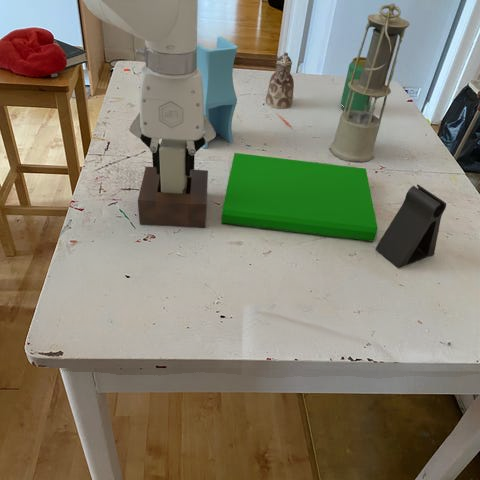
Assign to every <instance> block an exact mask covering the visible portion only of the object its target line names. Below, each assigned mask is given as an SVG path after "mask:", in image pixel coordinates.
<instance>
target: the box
mask: <svg viewBox="0 0 480 480" xmlns="http://www.w3.org/2000/svg"><path fill="white" fill-rule="evenodd" d="M159 144H160V148H159V156H160V178H161V192H163V193H179V194H187V175H186V150H187V143H186V140H172V139H161V142H160V143H159Z"/></svg>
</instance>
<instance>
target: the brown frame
mask: <svg viewBox="0 0 480 480" xmlns="http://www.w3.org/2000/svg"><path fill="white" fill-rule="evenodd" d="M208 182H209V170H208V169H207V170H206V169H205V170H204V169H194V170H190V176H187V194H179V193H163V192H161V178H160V175H159V174H157V170H156V167H153V166H145V169H144V172H143V176H142V181H141V185H140V189H139V193H138V197H137V208H138V209H137V210H138V218H139V219H138V220H139V225H141V226H142V225H143V226H144V225H145V226H163V227H164V226H165V227H179V228H180V227H182V228H199V229H205V228H206V226H207V225H206V224H207V205H208V186H209V185H208V184H209V183H208Z"/></svg>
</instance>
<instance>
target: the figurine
mask: <svg viewBox="0 0 480 480" xmlns="http://www.w3.org/2000/svg"><path fill="white" fill-rule="evenodd" d="M275 64H276V65H275V71H274V73H273V74H271V76H270V79H269V82H268V83H269V84H268V87H267V92H266V96H265V103H266V104H267V105H268V106H270V108H273V109H274V108H275V109H279V110H280V109H289V108H291V106H292V105H293V100H294V88H295V87H294V86H295V81H294V77H293V75H292V74H291V72H292V71H291V70H292V65H293V61H292V59H291V56H289V53H288V52H283V54H282V55H280V56H279V57H278V59H277V60H276V63H275Z"/></svg>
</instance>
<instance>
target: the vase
mask: <svg viewBox="0 0 480 480" xmlns="http://www.w3.org/2000/svg"><path fill="white" fill-rule="evenodd" d="M237 51H238V46H237V45H236V44H235V43H233V42H232V41H229V40H228V39H226V38H225V37H223V36H217V38H216V48H207V47H205V46H203V45H201V44H200V43H198V42H197V68H199V69H200V71H201V76H202V82H203V93H204V115H205V116H206V118H207V119H208V121H209V122H210V124H211V125H212V127H213V128H214V130H215V132H216V134H218V135H219V136H221V137H222V139H224V140H225V141H227V142H228V143H229V144H234V143H235V142H234V138H233V137H234V136H233V128H232V127H233V126H232V125H233V119H234V118H233V117H234V114H235V109H236V107H237V103H238V98H237V93H236V89H235V86H234V78H233V77H234V76H233V72H234V63H235V59H236V55H237ZM204 133H205V131H204V130H203V134H204ZM208 143H209V142H208ZM208 143H205V145H204V146H202V147H201V148H202V149H204V150H205V149H206V150H207V149H208V145H209V144H208Z"/></svg>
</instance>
